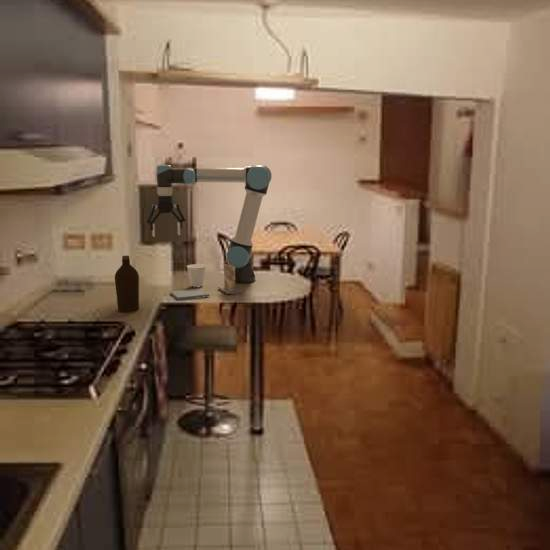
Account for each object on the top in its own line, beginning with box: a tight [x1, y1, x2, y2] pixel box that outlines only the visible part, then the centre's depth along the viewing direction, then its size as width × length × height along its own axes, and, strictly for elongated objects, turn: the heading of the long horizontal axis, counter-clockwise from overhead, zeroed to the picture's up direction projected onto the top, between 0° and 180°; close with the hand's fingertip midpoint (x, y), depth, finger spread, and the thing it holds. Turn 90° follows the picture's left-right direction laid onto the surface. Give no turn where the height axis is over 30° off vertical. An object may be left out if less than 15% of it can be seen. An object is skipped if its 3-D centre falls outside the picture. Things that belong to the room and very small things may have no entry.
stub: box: [217, 263, 243, 295], centre depth 316 cm, size 8×14×13 cm, turn 24°
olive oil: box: [114, 255, 140, 313], centre depth 280 cm, size 11×11×25 cm
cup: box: [186, 263, 206, 288], centre depth 327 cm, size 10×10×11 cm
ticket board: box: [169, 287, 210, 301], centre depth 309 cm, size 16×14×2 cm
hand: (166, 235), depth 326 cm, fingers open, 13 cm apart
